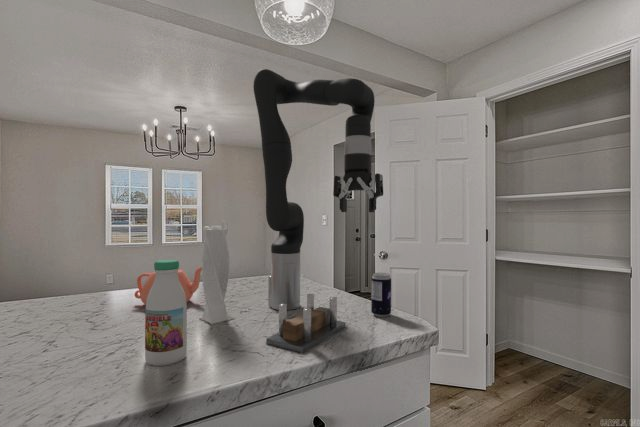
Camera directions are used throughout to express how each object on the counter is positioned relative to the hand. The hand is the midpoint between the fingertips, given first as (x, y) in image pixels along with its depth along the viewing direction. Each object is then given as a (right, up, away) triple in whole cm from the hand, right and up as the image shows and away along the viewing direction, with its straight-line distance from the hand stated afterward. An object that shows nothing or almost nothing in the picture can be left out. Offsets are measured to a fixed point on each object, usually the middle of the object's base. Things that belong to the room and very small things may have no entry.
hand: (357, 212), depth 96 cm
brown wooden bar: (-13, -29, -12) cm, 34 cm away
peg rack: (-13, -30, -12) cm, 35 cm away
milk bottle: (-42, -30, -26) cm, 58 cm away
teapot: (-59, -30, +16) cm, 68 cm away
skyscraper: (-39, -30, -1) cm, 50 cm away
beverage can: (+7, -30, +5) cm, 32 cm away
